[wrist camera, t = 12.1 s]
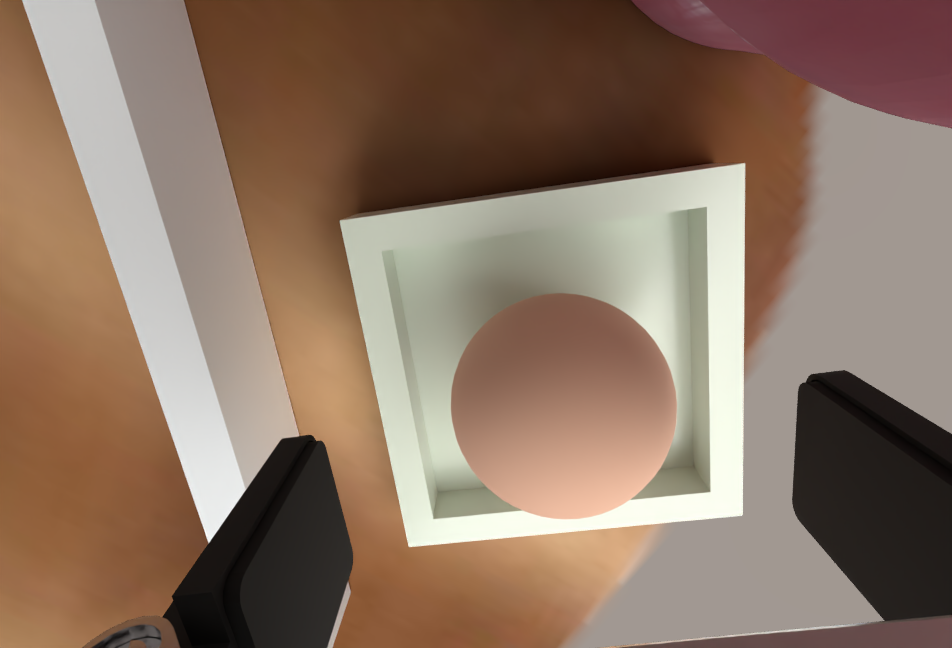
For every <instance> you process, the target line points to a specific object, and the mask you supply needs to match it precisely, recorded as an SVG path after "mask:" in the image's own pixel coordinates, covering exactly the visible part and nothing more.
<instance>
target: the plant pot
mask: <svg viewBox="0 0 952 648" xmlns="http://www.w3.org/2000/svg"><path fill="white" fill-rule="evenodd" d="M631 1H632V2H633V3H634V4H635V5H636V6H637V7H638V8H639V9H640V10H641V11H642V12H643V13H644V14H646V15H647V16H648V17H649V18H650V19H651V20H652V21H654V22H655V23H657V24H658V25H660V26H661V27H663V28H664V29H666V30H667V31H669V32H670V33H672V34H675V35H677V36H679V37H681V38H683V39H686V40H688V41H691V42H694V43H697V44H700V45H704V46H708V47H712V48H718V49H724V50H737V51H744V52H750V53H757V54H764V55H765V56H767V57H768V58H770V59H771V60H773V61H774V62H776V63H777V64H779V65H780V66H782V67H783V68H785V69H786V70H788V71H789V72H791V73H793V74H795V75H797V76H799V77H801V78H803V79H805V80H807V81H809V82H810V83H812V84H814V85H816V86H818V87H820V88H823V89H825V90H827V91H829V92H831V93H834V94H836V95H838V96H840V97H842V98H845V99H847V100H849V101H852V102H854V103H857V104H860V105H863V106H867V107H870V108H873V109H876V110H879V111H882V112H885V113H888V114H892V115H895V116H899V117H902V118H906V119H911V120H915V121H920V122H925V123H930V124H935V125H939V126H944V127H948V128H952V0H631Z"/></svg>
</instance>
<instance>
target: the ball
mask: <svg viewBox="0 0 952 648" xmlns="http://www.w3.org/2000/svg"><path fill="white" fill-rule="evenodd" d="M451 416H452V423H453V427H454V431H455V435H456V439H457V442H458V445H459V447H460V450H461V452H462V454H463V456H464V457H465V459H466V461H467V463H468V464H469V466H470V468H471V469H472V471H473V472H474V473H475V475H476V476H477V477H478V478H479V480H480V481H481V482H482V483H483V484H484V485H485V486H486V487H487V488H488V489H490V490H491V491H492V492H493V493H494V494H495V495H497V496H498V497H499V498H501V499H502V500H504V501H505V502H507V503H509V504H510V505H512V506H514V507H516V508H518V509H521V510H523V511H525V512H528V513H531V514H534V515H538V516H541V517H547V518H552V519H580V518H587V517H592V516H596V515H599V514H603V513H605V512H608V511H610V510H613V509H615V508H617V507H619V506H621V505H623V504H624V503H626V502H627V501H629V500H630V499H632V498H633V497H634V496H636V495H637V494H638V493H639V492H640V491H641V490H642V489H643V488H644V487H645V486H646V485H647V484H648V483H649V482H650V481H651V480H652V479H653V478H654V476H655V475H656V474H657V472H658V471H659V469H660V468H661V466H662V464H663V462H664V460H665V458H666V456H667V454H668V452H669V449H670V446H671V443H672V440H673V438H674V433H675V428H676V418H677V398H676V390H675V386H674V382H673V378H672V374H671V370H670V368H669V366H668V363H667V361H666V359H665V357H664V355H663V354H662V352H661V350H660V349H659V347H658V345H657V344H656V342H655V341H654V339H653V338H652V337H651V336H650V335H649V333H648V332H647V331H646V330H645V329H644V328H643V327H642V326H641V325H640V324H639V323H637V322H636V321H635V320H634V319H633V318H632V317H630V316H629V315H628V314H626V313H625V312H623V311H622V310H620V309H619V308H617V307H615V306H612V305H610V304H608V303H606V302H604V301H601V300H598V299H595V298H592V297H588V296H583V295H577V294H567V293H555V294H544V295H539V296H534V297H531V298H528V299H524V300H521V301H519V302H517V303H515V304H512V305H510V306H508V307H506V308H505V309H503V310H502V311H500V312H499V313H497V314H496V315H494V316H493V317H492V318H491V319H490V320H488V321H487V322H486V323H485V324H484V325H483V326H482V327H481V328H480V329H479V330H478V332H477V333H476V334H475V335H474V336H473V338H472V339H471V340H470V342H469V343H468V345H467V346H466V348H465V350H464V352H463V354H462V356H461V358H460V360H459V363H458V366H457V369H456V372H455V375H454V379H453V384H452V391H451Z"/></svg>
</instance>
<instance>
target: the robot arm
mask: <svg viewBox="0 0 952 648" xmlns="http://www.w3.org/2000/svg"><path fill="white" fill-rule="evenodd" d="M797 405H798V406H797V422H796V441H795V459H794V478H793V497H792V502H793V508H794V511H795V514H796V516H797V518H798V520H799V521H800V522H801V523H802V525H803V526H804V527H805V528H806V529H807V531H808V532H809V533H810V534H811V535H812V536H813V537H814V539H815V540H816V541H817V542H818V543H819V545H820V546H821V547H822V548H823V549H824V550H825V552H826V553H827V554H828V555H829V556H830V557H831V559H832V560H833V561H834V562H835V563H836V564H837V566H838V567H839V568H840V569H841V570H842V571H843V573H844V574H845V575H846V576H847V577H848V578H849V580H850V581H851V582H852V583H853V584H854V585H855V586H856V588H857V589H858V590H859V591H860V592H861V594H863V596H864V597H865V598H866V599H867V601H868V602H869V603H870V604H871V605H872V606H873V607H874V609H875V610H876V611H877V612H878V613H879V614H880V616H881V617H882V618H883V619H884V620H885V621H880V622H870V623H869V622H868V623H857V624H846V625H836V626H824V627H813V628H802V629H791V630H781V631H770V632H758V633H747V634H737V635H726V636H716V637H705V638H696V639H685V640H674V641H664V642H653V643H642V644H632V645H622V646H611V647H602V648H952V434H951V433H949V432H947V431H946V430H944V429H942V428H941V427H939V426H937V425H936V424H934V423H932V422H931V421H929V420H927V419H926V418H924V417H923V416H921V415H919V414H917V413H916V412H914V411H913V410H911V409H909V408H908V407H906V406H904V405H903V404H901V403H899V402H898V401H896V400H894V399H893V398H891V397H889V396H888V395H886V394H884V393H883V392H881V391H879V390H878V389H876V388H874V387H872V386H871V385H869V384H868V383H866V382H864V381H863V380H861V379H860V378H858V377H856V376H855V375H853V374H851V373H849V372H847V371H845V370H843V371H834V372H826V373H818V374H811V375H810V376H809V377H808V379H807V381H806V383H802V384H801V385H800V386H799V391H798V404H797ZM352 565H353V551H352V546H351V542H350V539H349V535H348V531H347V527H346V523H345V520H344V516H343V512H342V508H341V504H340V500H339V497H338V493H337V489H336V485H335V481H334V477H333V474H332V470H331V466H330V462H329V458H328V455H327V451H326V447H325V445H324V443H323V442H322V441H316V440H315V438H314V437H313V436H312V435H306V436H298V437H290V438H282V439H281V440H280V442H279V443H278V444H277V446H276V447H275V449H274V450H273V452H272V453H271V454H270V456H269V457H268V459H267V460H266V462H265V463H264V465H263V466H262V467H261V469H260V470H259V472H258V473H257V475H256V476H255V477H254V479H253V480H252V482H251V483H250V485H249V486H248V488H247V489H246V490H245V492H244V493H243V495H242V496H241V498H240V499H239V500H238V502H237V503H236V505H235V506H234V508H233V509H232V511H231V512H230V513H229V515H228V516H227V518H226V519H225V521H224V522H223V524H222V525H221V526H220V528H219V529H218V531H217V532H216V534H215V535H214V536H213V538H212V539H211V541H210V542H209V544H208V545H207V547H206V548H205V549H204V551H203V552H202V554H201V555H200V557H199V558H198V559H197V561H196V562H195V564H194V565H193V567H192V568H191V570H190V571H189V572H188V574H187V575H186V577H185V578H184V580H183V581H182V582H181V584H180V585H179V587H178V588H177V590H176V591H175V593H174V594H173V595H172V598H173V600H174V601H173V602H172V604H171V605H170V607H169V608H168V610H167V611H166V612H165V614H164V615H163V617H160V616H142V617H138V618H135V619H131V620H127V621H125V622H123V623H121V624H118V625H116V626H114V627H112V628H110V629H108V630H106V631H105V632H103V633H102V634H100V635H98V636H97V637H95V638H94V639H92V640H91V641H90V642H88V643H87V644H86V645H85V646H84V647H82V648H327V647H328V644H329V641H330V637H331V634H332V631H333V628H334V625H335V621H336V618H337V615H338V612H339V608H340V605H341V602H342V599H343V596H344V592H345V589H346V586H347V583H348V580H349V576H350V573H351V570H352Z"/></svg>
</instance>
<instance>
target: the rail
mask: <svg viewBox="0 0 952 648" xmlns="http://www.w3.org/2000/svg"><path fill="white" fill-rule="evenodd" d="M22 1H23V4H24V7H25V10H26V13H27V16H28V19H29V22H30V25H31V27H32V30H33V33H34V36H35V39H36V42H37V45H38V48H39V51H40V54H41V57H42V59H43V62H44V65H45V68H46V71H47V74H48V77H49V80H50V83H51V86H52V89H53V91H54V94H55V97H56V100H57V103H58V106H59V109H60V112H61V115H62V118H63V121H64V123H65V126H66V129H67V132H68V135H69V138H70V141H71V144H72V147H73V150H74V153H75V156H76V158H77V161H78V164H79V167H80V170H81V173H82V176H83V179H84V182H85V185H86V188H87V190H88V193H89V196H90V199H91V202H92V205H93V208H94V211H95V214H96V217H97V220H98V222H99V225H100V228H101V231H102V234H103V237H104V240H105V243H106V246H107V249H108V252H109V254H110V257H111V260H112V263H113V266H114V269H115V272H116V275H117V278H118V281H119V284H120V286H121V289H122V292H123V295H124V298H125V301H126V304H127V307H128V310H129V313H130V316H131V318H132V321H133V324H134V327H135V330H136V333H137V336H138V339H139V342H140V345H141V348H142V350H143V353H144V356H145V359H146V362H147V365H148V368H149V371H150V374H151V377H152V380H153V383H154V385H155V388H156V391H157V394H158V397H159V400H160V403H161V406H162V409H163V412H164V415H165V417H166V420H167V423H168V426H169V429H170V432H171V435H172V438H173V441H174V444H175V447H176V449H177V452H178V455H179V458H180V461H181V464H182V467H183V470H184V473H185V476H186V479H187V481H188V484H189V487H190V490H191V493H192V496H193V499H194V502H195V505H196V508H197V511H198V513H199V516H200V519H201V522H202V525H203V528H204V531H205V534H206V537H207V540H208V543H209V542H210V541H211V539H212V538H213V536H214V535H215V534H216V532H217V531H218V529H219V528H220V526H221V525H222V524H223V522H224V521H225V519H226V518H227V516H228V515H229V513H230V512H231V511H232V509H233V508H234V506H235V505H236V503H237V502H238V500H239V499H240V498H241V496H242V495H243V493H244V492H245V490H246V489H247V488H248V486H249V485H250V483H251V482H252V480H253V479H254V477H255V476H256V475H257V473H258V472H259V470H260V469H261V467H262V466H263V465H264V463H265V462H266V460H267V459H268V457H269V456H270V454H271V453H272V452H273V450H274V449H275V447H276V446H277V444H278V443H279V442H280V440H281V439H282V438H290V437H298V436H299V433H298V429H297V425H296V421H295V417H294V414H293V410H292V406H291V402H290V399H289V395H288V391H287V387H286V384H285V380H284V376H283V372H282V368H281V365H280V361H279V357H278V353H277V350H276V346H275V342H274V338H273V335H272V331H271V327H270V323H269V319H268V316H267V312H266V308H265V304H264V301H263V297H262V293H261V289H260V286H259V282H258V278H257V274H256V270H255V267H254V263H253V259H252V255H251V252H250V248H249V244H248V240H247V237H246V233H245V229H244V225H243V221H242V218H241V214H240V210H239V206H238V203H237V199H236V195H235V191H234V188H233V184H232V180H231V176H230V172H229V169H228V165H227V161H226V157H225V154H224V150H223V146H222V142H221V139H220V135H219V131H218V127H217V123H216V120H215V116H214V112H213V108H212V105H211V101H210V97H209V93H208V90H207V86H206V82H205V78H204V74H203V71H202V67H201V63H200V59H199V56H198V52H197V48H196V44H195V41H194V37H193V33H192V29H191V25H190V22H189V18H188V14H187V10H186V7H185V3H184V0H22ZM350 593H351V591H350V587H349V583H347V586H346V589H345V592H344V596H343V599H342V602H341V605H340V608H339V612H338V615H337V618H336V621H335V625H334V628H333V631H332V634H331V637H330V641H329V644H328V647H327V648H332V647H333V644H334V641H335V638H336V635H337V632H338V629H339V626H340V623H341V620H342V617H343V614H344V611H345V608H346V605H347V602H348V599H349V596H350Z"/></svg>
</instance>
